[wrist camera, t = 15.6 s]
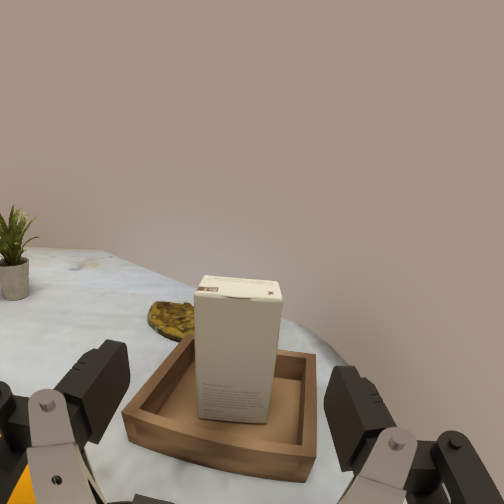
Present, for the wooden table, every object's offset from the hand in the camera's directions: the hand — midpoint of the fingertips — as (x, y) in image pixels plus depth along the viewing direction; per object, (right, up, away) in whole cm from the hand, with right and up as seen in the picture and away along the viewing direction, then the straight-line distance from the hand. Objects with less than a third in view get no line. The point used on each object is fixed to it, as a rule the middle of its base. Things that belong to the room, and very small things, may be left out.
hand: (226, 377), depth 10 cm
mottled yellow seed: (-9, -6, +30) cm, 32 cm away
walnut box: (-1, -10, +13) cm, 17 cm away
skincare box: (-1, -10, +13) cm, 16 cm away
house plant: (-42, -3, +29) cm, 51 cm away
